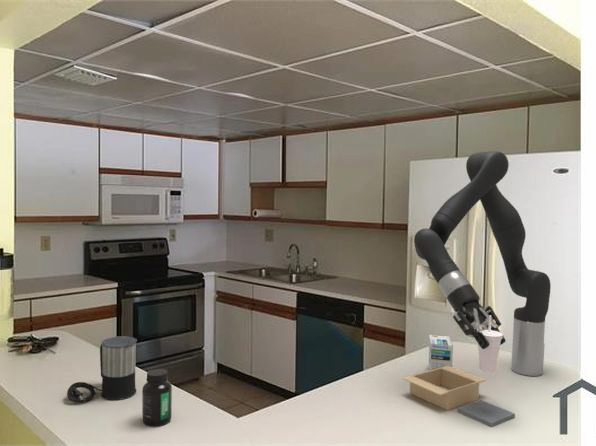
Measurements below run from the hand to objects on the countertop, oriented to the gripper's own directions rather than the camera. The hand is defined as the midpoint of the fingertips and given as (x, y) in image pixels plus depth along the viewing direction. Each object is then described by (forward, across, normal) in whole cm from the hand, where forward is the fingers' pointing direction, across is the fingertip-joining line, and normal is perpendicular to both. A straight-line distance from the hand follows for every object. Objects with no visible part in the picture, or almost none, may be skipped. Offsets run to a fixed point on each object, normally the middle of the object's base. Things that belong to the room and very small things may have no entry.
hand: (494, 345), depth 125 cm
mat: (+12, 0, +14) cm, 19 cm away
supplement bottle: (-16, -73, +44) cm, 86 cm away
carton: (+3, 0, +24) cm, 24 cm away
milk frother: (-31, -80, +59) cm, 104 cm away
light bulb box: (-6, +14, +33) cm, 37 cm away
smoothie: (+4, 0, +6) cm, 7 cm away
